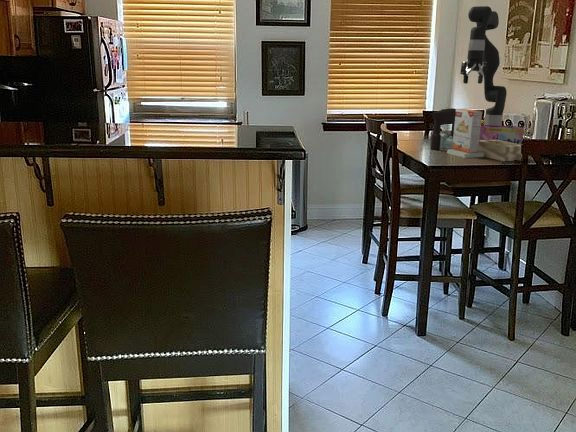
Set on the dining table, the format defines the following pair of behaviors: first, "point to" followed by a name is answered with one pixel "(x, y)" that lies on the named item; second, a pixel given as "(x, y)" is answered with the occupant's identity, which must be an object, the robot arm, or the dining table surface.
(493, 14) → the robot arm
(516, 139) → the gum box
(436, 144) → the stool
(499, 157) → the holder
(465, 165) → the dining table surface
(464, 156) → the plate
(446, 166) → the dining table surface
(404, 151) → the dining table surface
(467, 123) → the cracker box
